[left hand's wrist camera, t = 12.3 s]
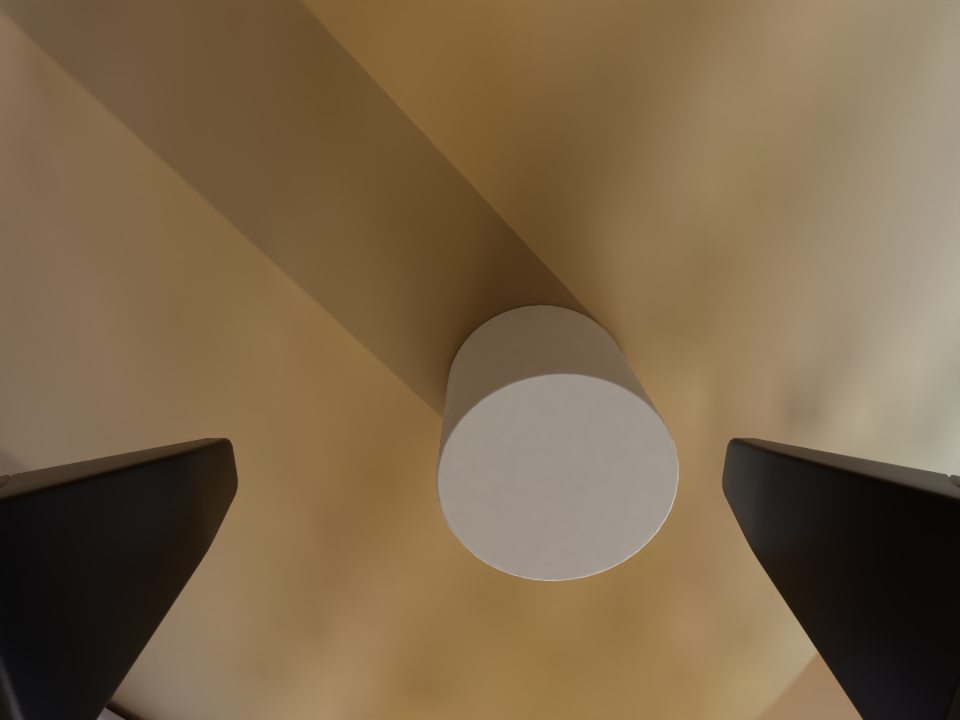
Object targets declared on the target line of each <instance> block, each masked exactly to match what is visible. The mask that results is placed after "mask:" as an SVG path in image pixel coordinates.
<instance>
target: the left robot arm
mask: <svg viewBox="0 0 960 720" xmlns="http://www.w3.org/2000/svg"><path fill="white" fill-rule="evenodd" d="M237 486H238V478H237V471H236V465H235V458H234V452H233V446H232V444H231V442H230V440H228V439H227V438H205V439H200V440H195V441H189V442H184V443H179V444H173V445H168V446H163V447H157V448H152V449H147V450H141V451H136V452H131V453H125V454H120V455H115V456H110V457H104V458H99V459H94V460H88V461H83V462H78V463H72V464H67V465H62V466H56V467H51V468H46V469H40V470H35V471H30V472H25V473H19V474H14V475H12V477H10V476H9V475H4V476H0V720H97V719H98V717H99V716H100V714H101V713H102V711H103V710H104V708H105V707H106V705H107V704H108V702H109V701H110V699H111V698H112V696H113V695H114V693H115V692H116V690H117V689H118V687H119V685H120V684H121V682H122V681H123V679H124V678H125V676H126V675H127V673H128V672H129V670H130V669H131V667H132V666H133V664H134V663H135V661H136V660H137V658H138V657H139V655H140V654H141V652H142V651H143V649H144V647H145V646H146V644H147V643H148V641H149V640H150V638H151V637H152V635H153V634H154V632H155V631H156V629H157V628H158V626H159V625H160V623H161V622H162V620H163V619H164V617H165V616H166V614H167V612H168V611H169V609H170V608H171V606H172V605H173V603H174V602H175V600H176V599H177V597H178V596H179V594H180V593H181V591H182V590H183V588H184V587H185V585H186V584H187V582H188V581H189V579H190V578H191V576H192V574H193V573H194V571H195V570H196V568H197V567H198V565H199V564H200V562H201V561H202V559H203V558H204V556H205V554H206V553H207V551H208V549H209V547H210V546H211V544H212V542H213V540H214V538H215V536H216V534H217V532H218V530H219V528H220V526H221V523H222V521H223V519H224V517H225V515H226V513H227V511H228V509H229V507H230V505H231V503H232V501H233V499H234V497H235V494H236V491H237ZM722 486H723V491H724V494H725V497H726V499H727V501H728V503H729V505H730V507H731V509H732V511H733V513H734V515H735V517H736V519H737V521H738V523H739V526H740V528H741V530H742V532H743V534H744V536H745V538H746V540H747V542H748V544H749V546H750V547H751V549H752V551H753V553H754V554H755V556H756V558H757V559H758V561H759V562H760V564H761V565H762V567H763V568H764V570H765V571H766V573H767V574H768V576H769V577H770V579H771V581H772V582H773V584H774V585H775V587H776V588H777V590H778V591H779V593H780V594H781V596H782V597H783V599H784V600H785V602H786V603H787V605H788V606H789V608H790V609H791V611H792V612H793V614H794V615H795V617H796V618H797V620H798V622H799V623H800V625H801V626H802V628H803V629H804V631H805V632H806V634H807V635H808V637H809V638H810V640H811V641H812V643H813V644H814V646H815V647H816V649H817V650H818V652H819V653H820V655H821V656H822V658H823V659H824V661H825V663H826V664H827V666H828V667H829V669H830V670H831V672H832V673H833V675H834V676H835V678H836V679H837V681H838V682H839V684H840V685H841V687H842V688H843V690H844V691H845V693H846V695H847V696H848V698H849V699H850V701H851V702H852V704H853V705H854V707H855V708H856V710H857V711H858V713H859V714H860V716H861V717H862V719H863V720H960V476H956V475H951V476H950V477H948V475H946V474H941V473H936V472H931V471H925V470H920V469H915V468H909V467H904V466H899V465H893V464H888V463H883V462H877V461H872V460H867V459H861V458H856V457H851V456H845V455H840V454H835V453H829V452H824V451H819V450H813V449H808V448H803V447H797V446H792V445H787V444H781V443H776V442H771V441H765V440H760V439H755V438H733V439H732V440H730V442H729V444H728V446H727V452H726V458H725V465H724V471H723V478H722Z"/></svg>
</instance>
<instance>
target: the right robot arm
mask: <svg viewBox="0 0 960 720" xmlns="http://www.w3.org/2000/svg"><path fill="white" fill-rule="evenodd" d="M97 720H125V719H124V718H122V717H120V716H119V715H117V714H115V713H113V712H112V711H110V710H108V709H107V708H104V710H103V711H102V713H101V714H100V716H99V717H98V719H97Z"/></svg>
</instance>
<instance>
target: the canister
mask: <svg viewBox="0 0 960 720" xmlns="http://www.w3.org/2000/svg"><path fill="white" fill-rule="evenodd" d="M678 479H679V464H678V456H677V451H676V447H675V444H674V440H673V438H672V436H671V433H670V431H669V429H668V427H667V425H666V424H665V422H664V420H663V419H662V417H661V415H660V414H659V412H658V411H657V409H656V407H655V406H654V404H653V402H652V401H651V399H650V397H649V396H648V394H647V393H646V391H645V389H644V388H643V386H642V384H641V383H640V381H639V379H638V378H637V376H636V375H635V373H634V371H633V370H632V368H631V366H630V365H629V363H628V361H627V360H626V358H625V357H624V355H623V353H622V352H621V350H620V348H619V347H618V345H617V344H616V342H615V341H614V339H613V338H612V337H611V336H610V335H609V334H608V332H607V331H606V330H605V329H603V328H602V327H601V326H600V325H599V324H598V323H596V322H595V321H593V320H591V319H590V318H588V317H587V316H585V315H582V314H580V313H578V312H576V311H573V310H570V309H566V308H562V307H556V306H547V305H535V306H525V307H521V308H516V309H512V310H510V311H507V312H504V313H501V314H499V315H497V316H495V317H493V318H491V319H490V320H488V321H487V322H485V323H484V324H482V325H481V326H480V327H479V328H478V329H476V330H475V331H474V332H473V333H472V334H471V335H470V336H469V337H468V338H467V340H466V341H465V342H464V343H463V345H462V346H461V348H460V349H459V351H458V353H457V355H456V357H455V359H454V361H453V363H452V366H451V370H450V373H449V378H448V384H447V392H446V400H445V408H444V416H443V424H442V432H441V440H440V448H439V456H438V464H437V476H436V487H437V494H438V500H439V503H440V507H441V510H442V513H443V515H444V517H445V519H446V522H447V524H448V525H449V527H450V528H451V530H452V532H453V533H454V535H455V536H456V537H457V538H458V539H459V541H460V542H461V543H462V544H463V545H464V546H465V547H466V548H467V549H468V550H469V551H470V552H471V553H473V554H474V555H475V556H476V557H478V558H479V559H481V560H482V561H484V562H485V563H487V564H489V565H491V566H493V567H495V568H497V569H498V570H501V571H504V572H506V573H509V574H512V575H516V576H519V577H523V578H529V579H536V580H550V581H557V580H570V579H576V578H582V577H586V576H590V575H593V574H597V573H600V572H602V571H604V570H607V569H609V568H612V567H614V566H616V565H617V564H619V563H621V562H623V561H625V560H626V559H628V558H629V557H631V556H632V555H634V554H635V553H636V552H638V551H639V550H640V549H641V548H642V547H643V546H644V545H646V544H647V543H648V542H649V541H650V539H651V538H652V537H653V536H654V535H655V534H656V533H657V532H658V530H659V529H660V527H661V526H662V524H663V523H664V521H665V520H666V518H667V516H668V514H669V512H670V510H671V508H672V505H673V502H674V499H675V496H676V491H677V486H678Z"/></svg>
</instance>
